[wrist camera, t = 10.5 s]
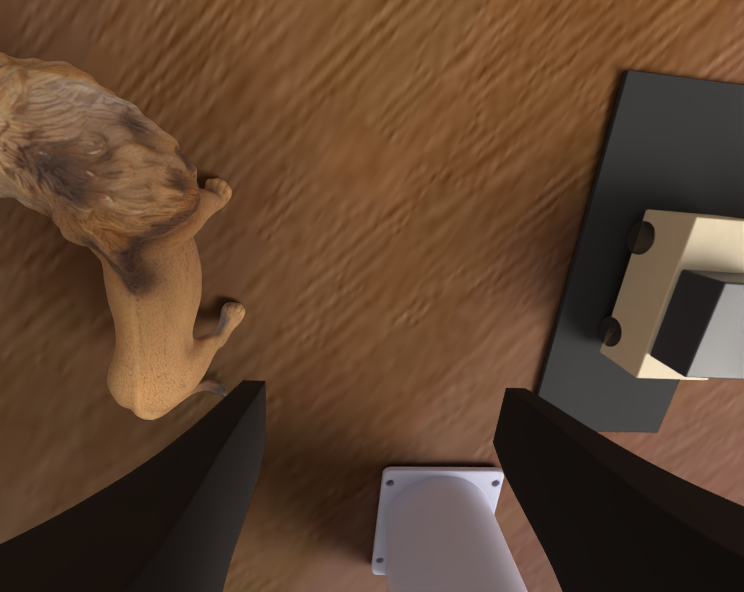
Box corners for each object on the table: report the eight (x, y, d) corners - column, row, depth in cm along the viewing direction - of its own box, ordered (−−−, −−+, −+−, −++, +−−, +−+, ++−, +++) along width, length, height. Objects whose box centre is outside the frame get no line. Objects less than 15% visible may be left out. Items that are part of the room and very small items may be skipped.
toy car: (654, 349, 22) (749, 405, 17) (592, 346, 21) (670, 403, 16) (705, 213, 19) (836, 231, 14) (636, 207, 19) (745, 223, 14)
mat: (654, 429, 24) (657, 432, 24) (526, 427, 24) (528, 430, 23) (793, 93, 18) (800, 92, 18) (623, 71, 17) (628, 70, 17)
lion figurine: (90, 104, 16) (-202, 34, 7) (216, 93, 16) (76, 12, 7) (182, 394, 21) (74, 553, 12) (277, 382, 21) (235, 530, 12)
